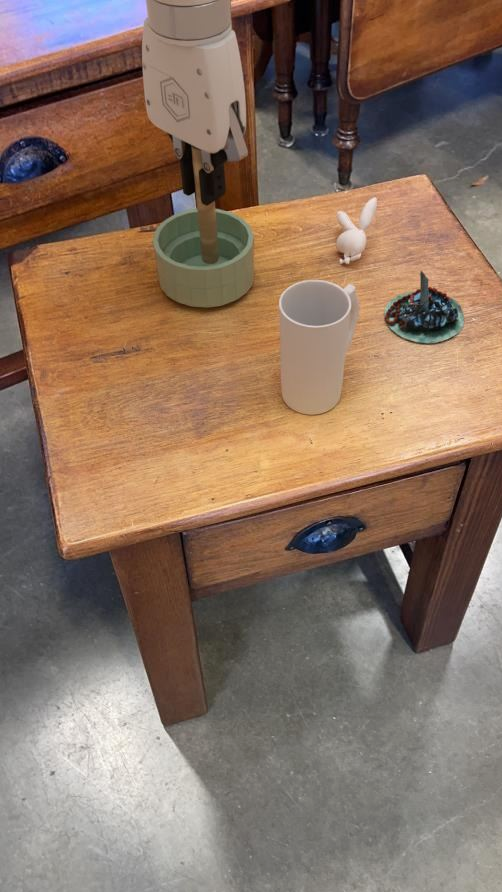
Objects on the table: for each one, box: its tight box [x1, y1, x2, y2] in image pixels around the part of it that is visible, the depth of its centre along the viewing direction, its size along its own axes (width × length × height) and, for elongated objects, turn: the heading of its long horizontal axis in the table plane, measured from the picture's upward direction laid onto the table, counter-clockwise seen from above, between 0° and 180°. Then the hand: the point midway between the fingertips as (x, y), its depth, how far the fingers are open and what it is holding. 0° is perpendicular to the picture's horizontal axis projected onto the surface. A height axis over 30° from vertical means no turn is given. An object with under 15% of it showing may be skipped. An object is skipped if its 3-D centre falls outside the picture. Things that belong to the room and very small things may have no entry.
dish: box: [383, 270, 465, 344], centre depth 94 cm, size 8×7×8 cm
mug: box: [278, 279, 360, 416], centre depth 83 cm, size 10×7×12 cm, turn 136°
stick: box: [191, 145, 219, 264], centre depth 90 cm, size 2×2×14 cm
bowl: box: [152, 208, 256, 308], centre depth 95 cm, size 11×11×6 cm
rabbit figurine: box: [335, 196, 378, 266], centre depth 100 cm, size 6×4×8 cm
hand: (204, 193), depth 89 cm, fingers closed on stick, 2 cm apart
